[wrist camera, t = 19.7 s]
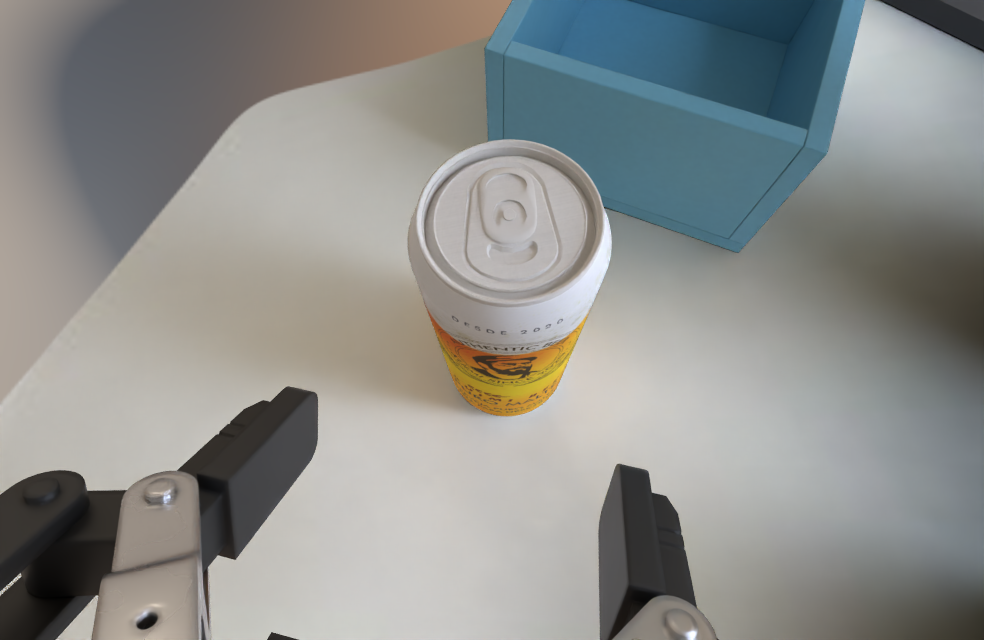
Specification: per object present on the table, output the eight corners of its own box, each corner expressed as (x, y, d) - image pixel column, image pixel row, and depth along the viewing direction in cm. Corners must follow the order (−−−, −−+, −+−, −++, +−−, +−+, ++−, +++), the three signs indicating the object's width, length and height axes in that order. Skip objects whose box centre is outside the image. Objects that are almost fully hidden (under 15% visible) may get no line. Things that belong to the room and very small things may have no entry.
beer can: (453, 423, 27) (401, 326, 13) (448, 315, 30) (399, 135, 16) (568, 414, 27) (636, 309, 13) (555, 308, 30) (602, 121, 16)
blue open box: (738, 253, 31) (827, 154, 22) (488, 167, 33) (483, 48, 25) (798, 51, 36) (888, -91, 28) (579, -10, 38) (601, -157, 30)
